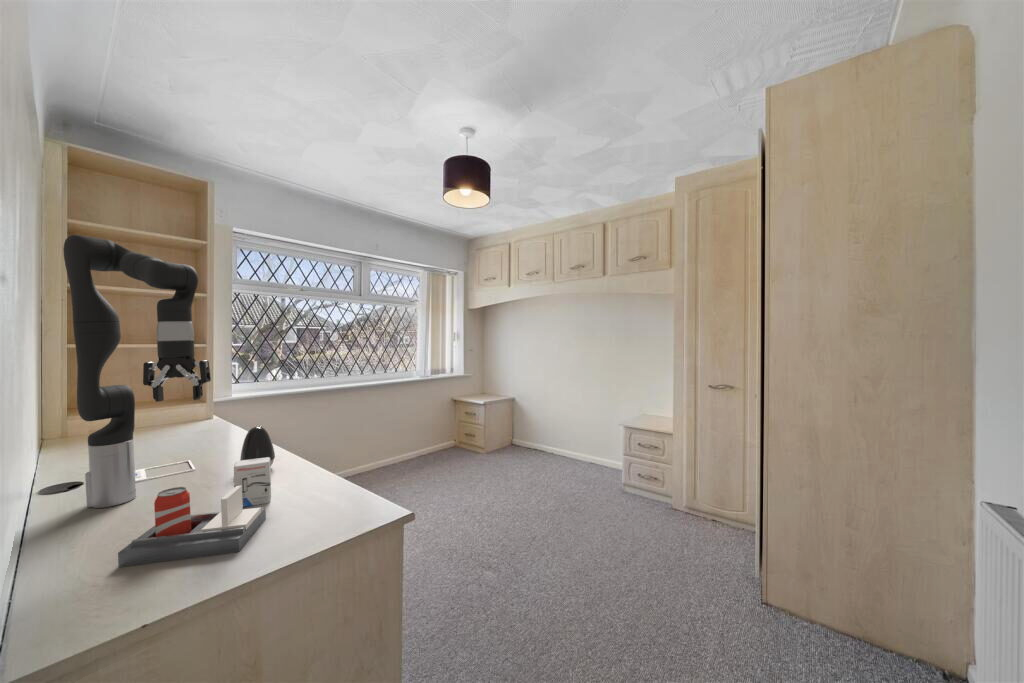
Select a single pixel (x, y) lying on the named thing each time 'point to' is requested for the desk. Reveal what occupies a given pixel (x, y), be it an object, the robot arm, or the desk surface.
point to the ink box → (253, 480)
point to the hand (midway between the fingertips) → (178, 400)
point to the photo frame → (141, 475)
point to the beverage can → (172, 512)
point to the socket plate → (188, 542)
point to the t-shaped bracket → (232, 513)
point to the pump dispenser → (257, 445)
